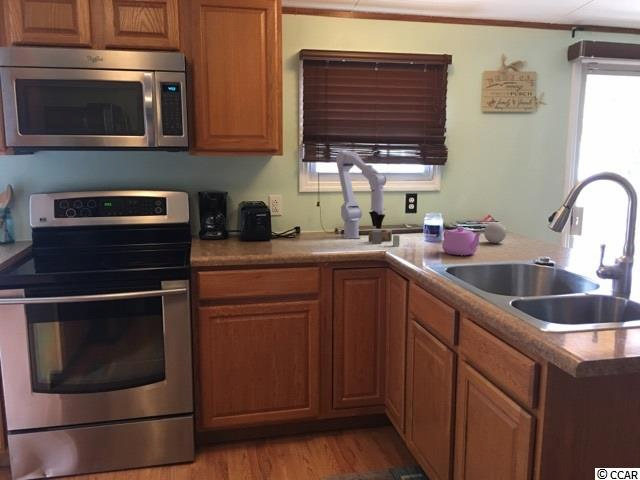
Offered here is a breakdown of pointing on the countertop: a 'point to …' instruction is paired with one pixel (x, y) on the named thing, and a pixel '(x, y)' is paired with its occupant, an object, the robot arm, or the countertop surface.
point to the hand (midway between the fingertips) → (376, 227)
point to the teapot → (460, 241)
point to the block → (377, 237)
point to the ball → (495, 232)
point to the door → (385, 236)
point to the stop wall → (395, 240)
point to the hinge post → (391, 233)
